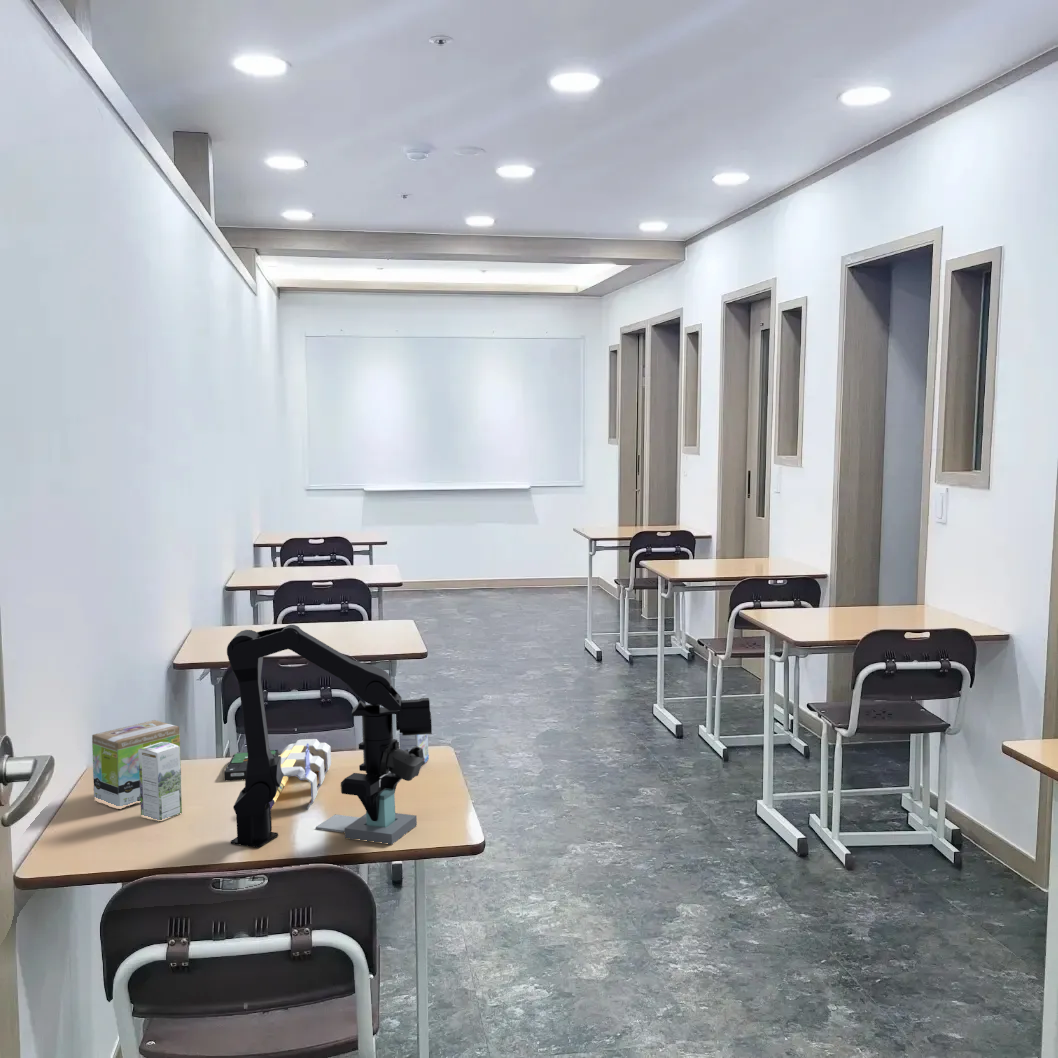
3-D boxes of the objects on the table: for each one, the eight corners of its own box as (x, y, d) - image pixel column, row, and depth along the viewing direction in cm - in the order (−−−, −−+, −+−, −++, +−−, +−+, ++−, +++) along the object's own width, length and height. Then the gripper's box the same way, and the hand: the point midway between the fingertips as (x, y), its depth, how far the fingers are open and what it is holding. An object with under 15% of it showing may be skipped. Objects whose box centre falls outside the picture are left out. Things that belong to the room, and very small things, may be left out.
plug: (385, 837, 193) (384, 796, 192) (366, 834, 195) (365, 793, 194) (396, 829, 197) (394, 789, 196) (377, 827, 198) (375, 786, 198)
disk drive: (271, 780, 230) (279, 759, 244) (271, 768, 229) (278, 748, 244) (224, 783, 228) (234, 762, 243) (223, 771, 228) (233, 751, 243)
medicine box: (418, 770, 232) (417, 733, 232) (400, 769, 233) (398, 732, 233) (429, 759, 240) (427, 723, 239) (410, 759, 241) (409, 723, 240)
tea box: (119, 812, 210) (115, 741, 209) (93, 802, 216) (89, 734, 215) (183, 791, 222) (180, 724, 221) (156, 782, 228) (153, 717, 227)
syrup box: (163, 809, 211) (160, 740, 210) (183, 814, 208) (179, 744, 207) (140, 818, 206) (136, 747, 205) (160, 823, 203) (156, 751, 202)
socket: (391, 844, 189) (391, 834, 189) (345, 838, 193) (344, 828, 193) (416, 825, 199) (416, 815, 198) (371, 819, 202) (371, 810, 202)
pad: (347, 833, 196) (347, 831, 196) (315, 828, 198) (315, 826, 198) (365, 820, 202) (365, 818, 202) (335, 816, 205) (335, 814, 205)
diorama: (313, 811, 209) (311, 748, 208) (262, 813, 208) (259, 750, 207) (331, 771, 234) (329, 715, 233) (286, 773, 233) (283, 717, 232)
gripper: (391, 754, 183) (394, 839, 184) (437, 726, 200) (440, 804, 201) (337, 749, 187) (341, 832, 188) (387, 722, 204) (390, 798, 205)
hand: (380, 816), depth 196 cm, fingers open, 4 cm apart
